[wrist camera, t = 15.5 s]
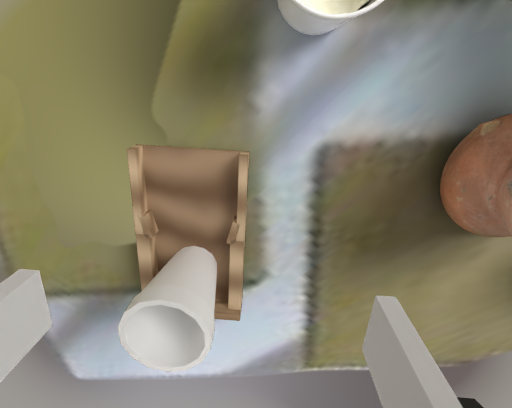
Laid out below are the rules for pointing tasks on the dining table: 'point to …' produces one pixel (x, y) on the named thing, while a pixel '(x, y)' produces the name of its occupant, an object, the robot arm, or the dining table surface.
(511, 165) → the ceramic jug
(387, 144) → the dining table surface
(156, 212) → the track
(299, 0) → the candle holder
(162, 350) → the foam cup
